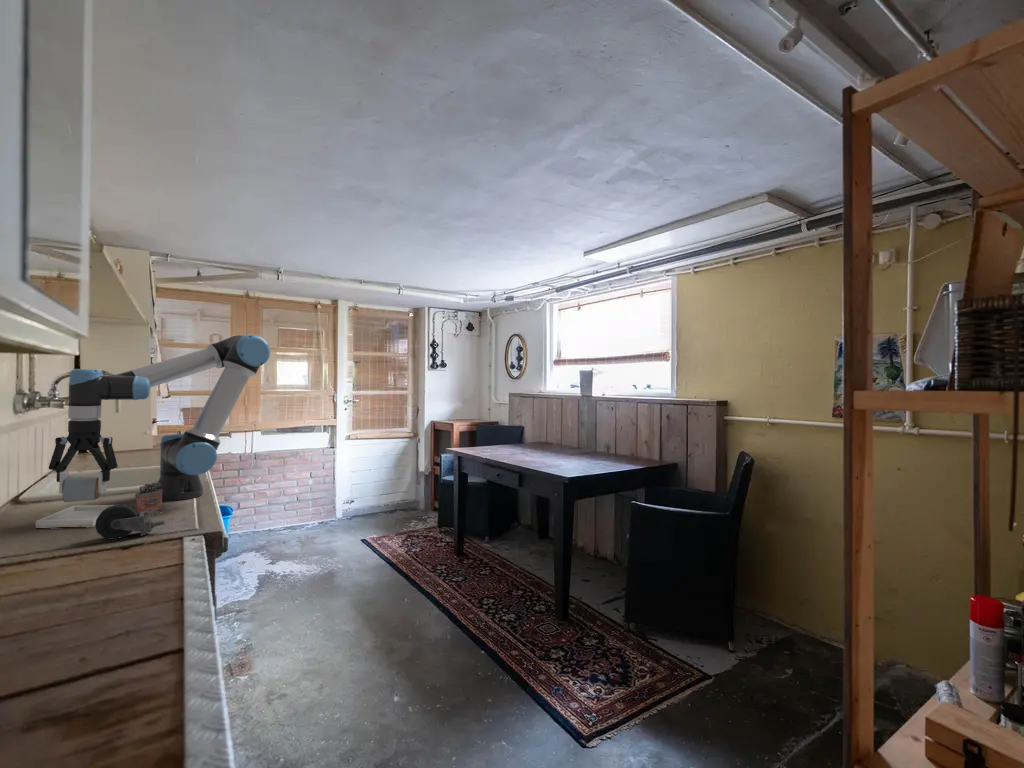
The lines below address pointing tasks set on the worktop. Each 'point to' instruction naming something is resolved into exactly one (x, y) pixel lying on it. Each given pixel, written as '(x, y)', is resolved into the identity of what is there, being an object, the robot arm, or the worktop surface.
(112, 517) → the caster wheel
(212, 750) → the worktop surface
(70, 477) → the grey piece
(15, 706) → the worktop surface
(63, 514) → the trough tray
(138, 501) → the red mechanical device
